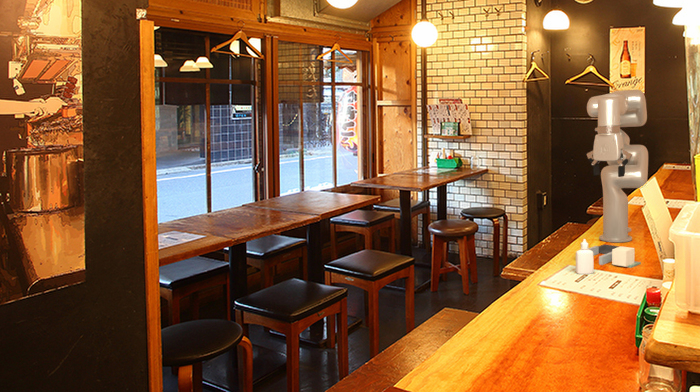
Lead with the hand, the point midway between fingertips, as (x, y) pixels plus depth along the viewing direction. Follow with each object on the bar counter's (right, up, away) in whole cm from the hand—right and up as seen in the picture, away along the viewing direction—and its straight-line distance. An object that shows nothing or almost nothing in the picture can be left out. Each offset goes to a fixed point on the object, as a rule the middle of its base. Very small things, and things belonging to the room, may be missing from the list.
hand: (608, 175), depth 225 cm
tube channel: (-5, -31, -2) cm, 32 cm away
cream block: (0, -32, -13) cm, 34 cm away
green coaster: (+1, -32, -11) cm, 34 cm away
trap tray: (+4, -30, +4) cm, 30 cm away
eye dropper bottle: (-17, -35, -19) cm, 43 cm away
